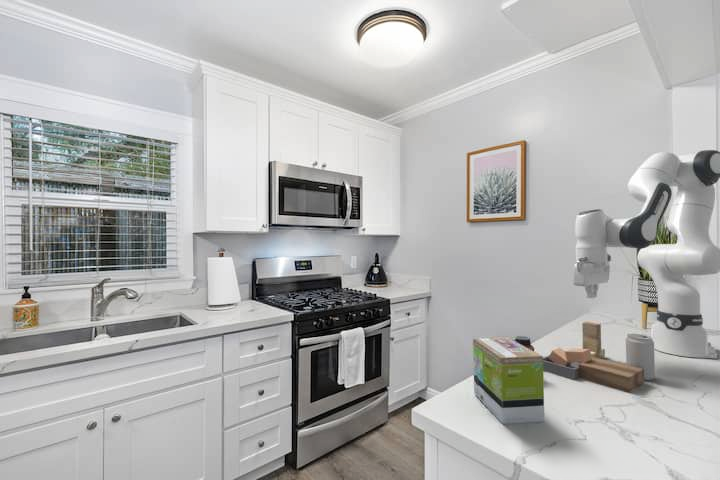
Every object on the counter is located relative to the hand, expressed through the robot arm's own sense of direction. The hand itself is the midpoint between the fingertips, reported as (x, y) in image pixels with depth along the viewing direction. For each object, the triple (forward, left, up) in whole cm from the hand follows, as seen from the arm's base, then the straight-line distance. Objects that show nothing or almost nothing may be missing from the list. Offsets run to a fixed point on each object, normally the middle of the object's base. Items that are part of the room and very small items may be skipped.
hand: (592, 297), depth 114 cm
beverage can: (+7, +15, -21) cm, 26 cm away
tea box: (+56, +3, -21) cm, 60 cm away
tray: (+17, -1, -21) cm, 27 cm away
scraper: (0, 0, -21) cm, 21 cm away
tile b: (+17, +3, -17) cm, 25 cm away
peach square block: (+17, -2, -17) cm, 24 cm away
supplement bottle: (+34, -5, -21) cm, 40 cm away
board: (+17, +11, -21) cm, 29 cm away
